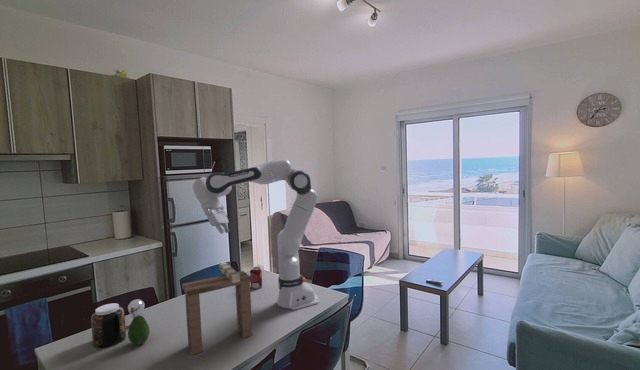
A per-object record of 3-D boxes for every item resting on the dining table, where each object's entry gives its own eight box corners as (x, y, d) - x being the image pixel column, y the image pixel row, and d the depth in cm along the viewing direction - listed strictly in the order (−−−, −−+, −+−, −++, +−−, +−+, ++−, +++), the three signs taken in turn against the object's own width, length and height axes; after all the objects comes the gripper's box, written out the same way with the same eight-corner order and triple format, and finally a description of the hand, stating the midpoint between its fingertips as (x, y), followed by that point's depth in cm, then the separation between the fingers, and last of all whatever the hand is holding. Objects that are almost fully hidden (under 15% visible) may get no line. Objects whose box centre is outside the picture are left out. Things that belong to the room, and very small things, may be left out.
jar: (106, 350, 129) (103, 315, 128) (86, 346, 133) (83, 311, 132) (132, 335, 140) (129, 303, 139) (113, 331, 144) (110, 300, 143)
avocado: (145, 336, 140) (143, 310, 139) (153, 342, 135) (151, 315, 134) (125, 344, 133) (123, 317, 133) (133, 351, 128) (130, 322, 128)
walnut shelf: (186, 343, 133) (182, 283, 131) (245, 325, 147) (243, 270, 145) (190, 355, 124) (186, 291, 122) (253, 334, 138) (250, 277, 136)
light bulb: (125, 326, 149) (123, 302, 148) (138, 319, 155) (136, 296, 154) (136, 328, 146) (134, 303, 145) (149, 321, 153) (147, 297, 152)
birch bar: (219, 269, 147) (219, 263, 147) (226, 268, 148) (225, 262, 148) (232, 283, 130) (232, 275, 130) (239, 281, 132) (239, 274, 131)
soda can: (259, 289, 187) (258, 270, 186) (249, 289, 189) (248, 269, 188) (263, 285, 194) (263, 266, 193) (253, 284, 195) (252, 266, 194)
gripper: (211, 204, 147) (225, 230, 145) (223, 206, 167) (235, 229, 166) (199, 210, 146) (213, 236, 145) (213, 212, 167) (225, 235, 165)
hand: (225, 232), depth 156 cm, fingers open, 8 cm apart
